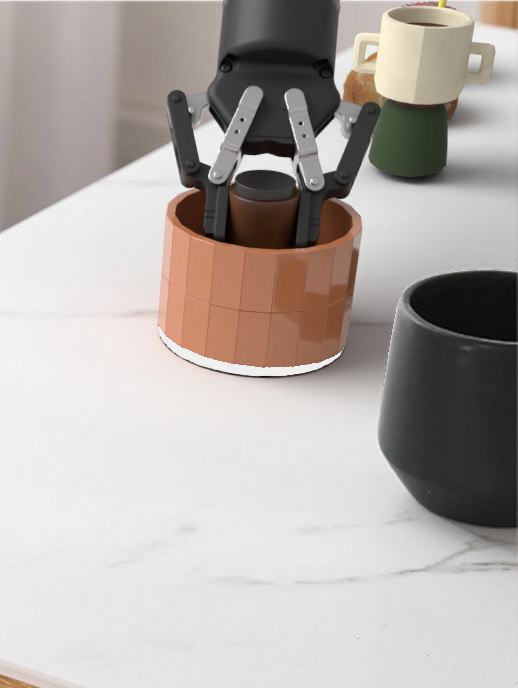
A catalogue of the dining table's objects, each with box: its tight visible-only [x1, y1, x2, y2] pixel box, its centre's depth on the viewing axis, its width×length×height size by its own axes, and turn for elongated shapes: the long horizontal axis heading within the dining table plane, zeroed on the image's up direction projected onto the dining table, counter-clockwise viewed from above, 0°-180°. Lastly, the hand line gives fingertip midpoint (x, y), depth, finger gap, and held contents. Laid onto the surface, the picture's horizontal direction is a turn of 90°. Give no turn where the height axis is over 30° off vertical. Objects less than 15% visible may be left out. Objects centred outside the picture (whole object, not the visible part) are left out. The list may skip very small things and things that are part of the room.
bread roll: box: [342, 51, 459, 121], centre depth 143 cm, size 10×10×8 cm
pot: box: [157, 181, 363, 368], centre depth 102 cm, size 12×12×8 cm
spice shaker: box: [224, 169, 300, 250], centre depth 101 cm, size 4×4×8 cm
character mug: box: [351, 5, 496, 178], centre depth 128 cm, size 11×7×13 cm, turn 69°
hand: (259, 248), depth 99 cm, fingers closed on spice shaker, 4 cm apart
